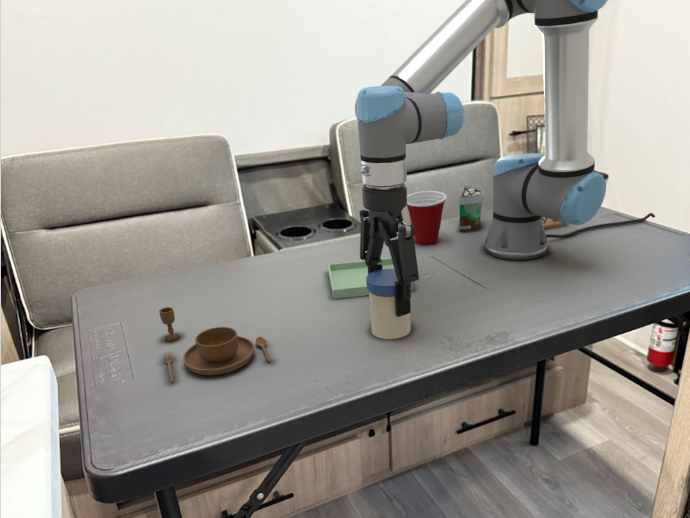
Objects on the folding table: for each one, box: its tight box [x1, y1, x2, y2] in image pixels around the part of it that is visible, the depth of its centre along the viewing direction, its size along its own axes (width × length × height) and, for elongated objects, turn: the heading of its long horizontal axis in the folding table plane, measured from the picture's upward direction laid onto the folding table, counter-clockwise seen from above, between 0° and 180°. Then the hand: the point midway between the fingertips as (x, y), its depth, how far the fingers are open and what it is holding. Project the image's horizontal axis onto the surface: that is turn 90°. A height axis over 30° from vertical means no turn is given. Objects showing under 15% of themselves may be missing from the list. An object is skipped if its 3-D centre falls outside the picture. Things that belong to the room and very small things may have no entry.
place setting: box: [158, 306, 271, 383], centre depth 107 cm, size 18×20×6 cm
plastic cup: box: [406, 190, 447, 246], centre depth 154 cm, size 11×11×12 cm
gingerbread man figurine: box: [542, 217, 567, 230], centre depth 162 cm, size 9×4×12 cm, turn 112°
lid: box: [366, 269, 403, 296], centre depth 109 cm, size 8×8×2 cm
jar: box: [368, 292, 412, 340], centre depth 111 cm, size 7×7×10 cm
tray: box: [326, 257, 414, 300], centre depth 134 cm, size 17×15×2 cm
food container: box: [458, 185, 486, 233], centre depth 164 cm, size 12×6×10 cm, turn 168°
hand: (389, 305), depth 111 cm, fingers closed on lid, 8 cm apart
